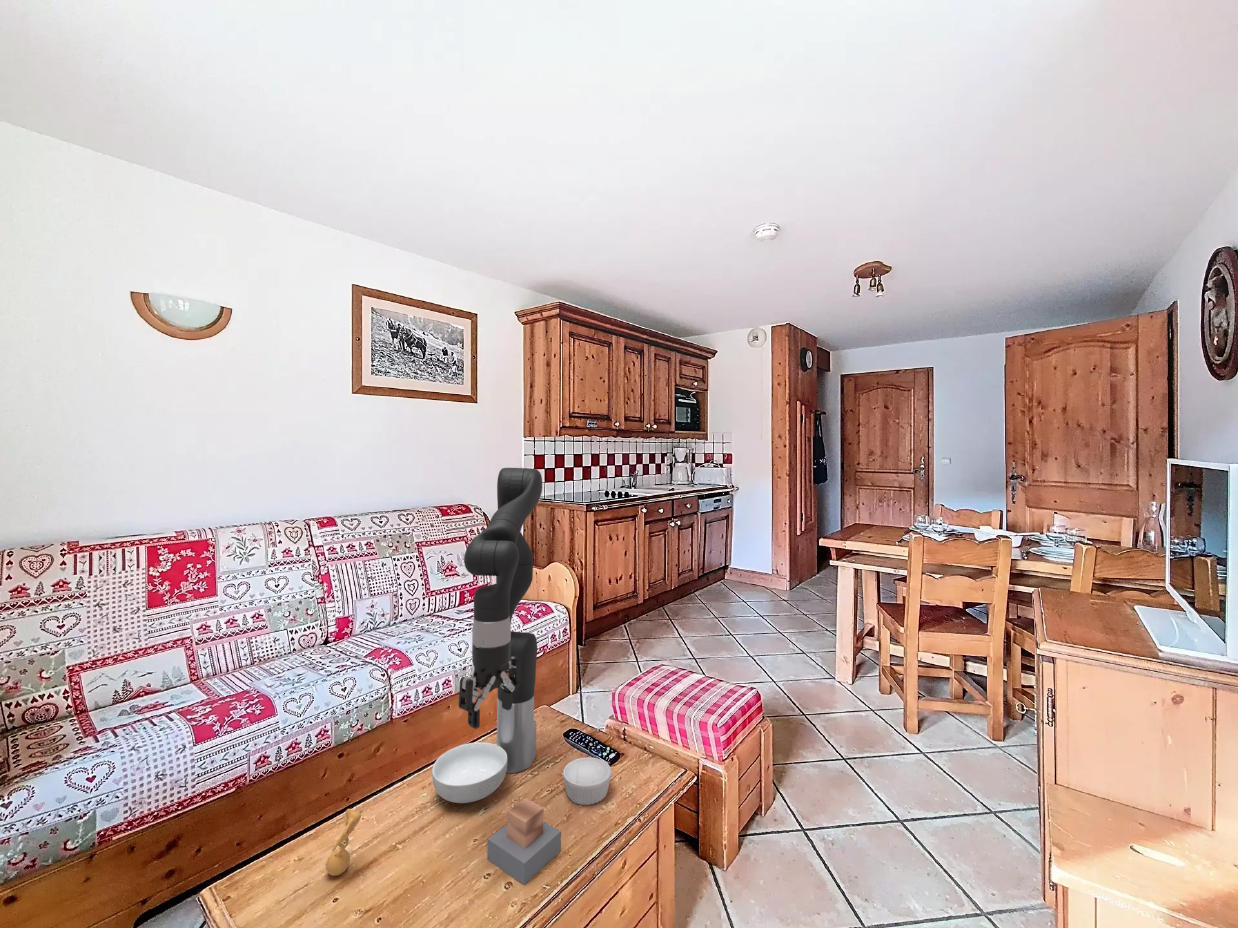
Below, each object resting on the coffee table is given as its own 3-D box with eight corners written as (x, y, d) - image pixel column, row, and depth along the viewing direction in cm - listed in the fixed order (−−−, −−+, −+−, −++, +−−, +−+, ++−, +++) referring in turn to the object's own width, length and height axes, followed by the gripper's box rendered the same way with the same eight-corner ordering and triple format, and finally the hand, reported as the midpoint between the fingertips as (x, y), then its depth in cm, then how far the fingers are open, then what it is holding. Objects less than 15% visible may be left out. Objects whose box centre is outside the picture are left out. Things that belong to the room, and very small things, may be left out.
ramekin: (554, 788, 120) (554, 766, 120) (593, 772, 127) (593, 751, 127) (579, 816, 111) (579, 792, 111) (620, 796, 118) (620, 773, 118)
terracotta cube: (525, 821, 103) (525, 797, 103) (543, 832, 101) (543, 807, 101) (506, 836, 99) (507, 811, 99) (524, 848, 97) (525, 822, 96)
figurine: (339, 854, 99) (340, 793, 99) (370, 855, 99) (371, 794, 99) (314, 891, 91) (314, 824, 91) (347, 891, 91) (348, 825, 91)
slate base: (524, 829, 107) (525, 810, 107) (560, 850, 101) (560, 831, 101) (487, 859, 99) (487, 838, 99) (523, 884, 93) (524, 863, 93)
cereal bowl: (475, 761, 130) (475, 733, 130) (522, 785, 121) (522, 756, 121) (416, 797, 116) (416, 766, 116) (463, 827, 107) (464, 794, 107)
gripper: (504, 625, 111) (504, 698, 111) (450, 645, 99) (449, 727, 100) (530, 632, 107) (529, 708, 107) (476, 654, 95) (475, 740, 95)
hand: (491, 717), depth 103 cm, fingers open, 8 cm apart
